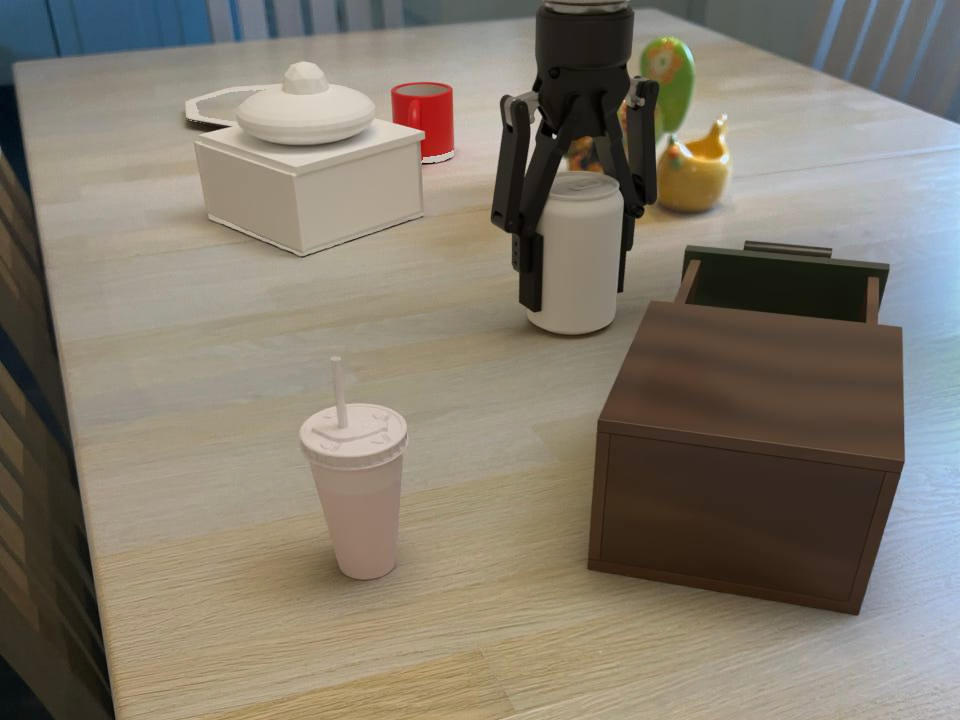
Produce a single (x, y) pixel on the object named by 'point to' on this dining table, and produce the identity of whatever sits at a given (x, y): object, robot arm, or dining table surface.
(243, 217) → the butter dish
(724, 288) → the drawer
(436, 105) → the mug
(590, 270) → the beverage can
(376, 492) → the smoothie
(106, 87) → the dining table surface
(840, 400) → the cabinet
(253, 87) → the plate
